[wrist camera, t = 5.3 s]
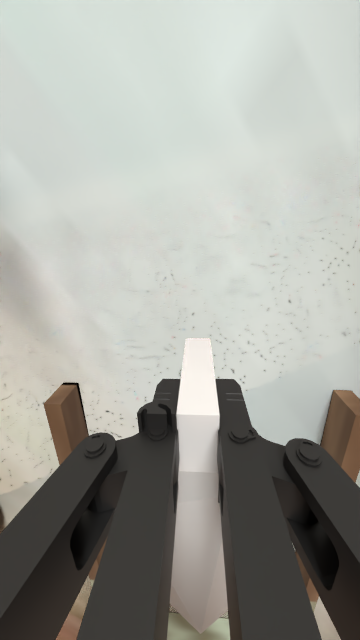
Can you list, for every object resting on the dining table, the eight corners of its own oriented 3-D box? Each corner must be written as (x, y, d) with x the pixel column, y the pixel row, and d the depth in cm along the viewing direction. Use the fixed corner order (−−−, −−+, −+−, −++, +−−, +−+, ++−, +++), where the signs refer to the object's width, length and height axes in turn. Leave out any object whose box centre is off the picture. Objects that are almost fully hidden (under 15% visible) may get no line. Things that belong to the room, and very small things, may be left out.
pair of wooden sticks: (114, 611, 29) (106, 643, 27) (63, 382, 18) (43, 403, 16) (287, 630, 28) (295, 666, 25) (351, 390, 16) (376, 416, 14)
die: (275, 449, 19) (352, 662, 9) (186, 488, 21) (175, 690, 12) (216, 374, 17) (239, 545, 7) (126, 425, 19) (55, 606, 10)
